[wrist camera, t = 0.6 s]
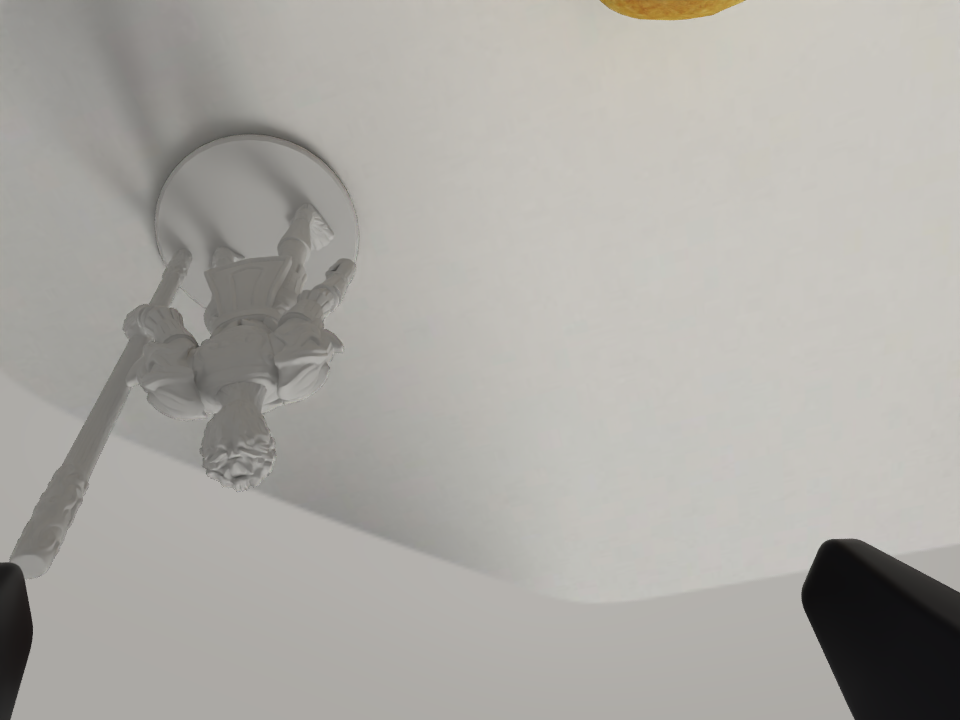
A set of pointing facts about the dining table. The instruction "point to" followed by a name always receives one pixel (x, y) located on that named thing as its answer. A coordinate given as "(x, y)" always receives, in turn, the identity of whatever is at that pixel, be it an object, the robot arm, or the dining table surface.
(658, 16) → the bread roll
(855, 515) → the dining table surface
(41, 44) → the dining table surface
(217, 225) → the figurine
